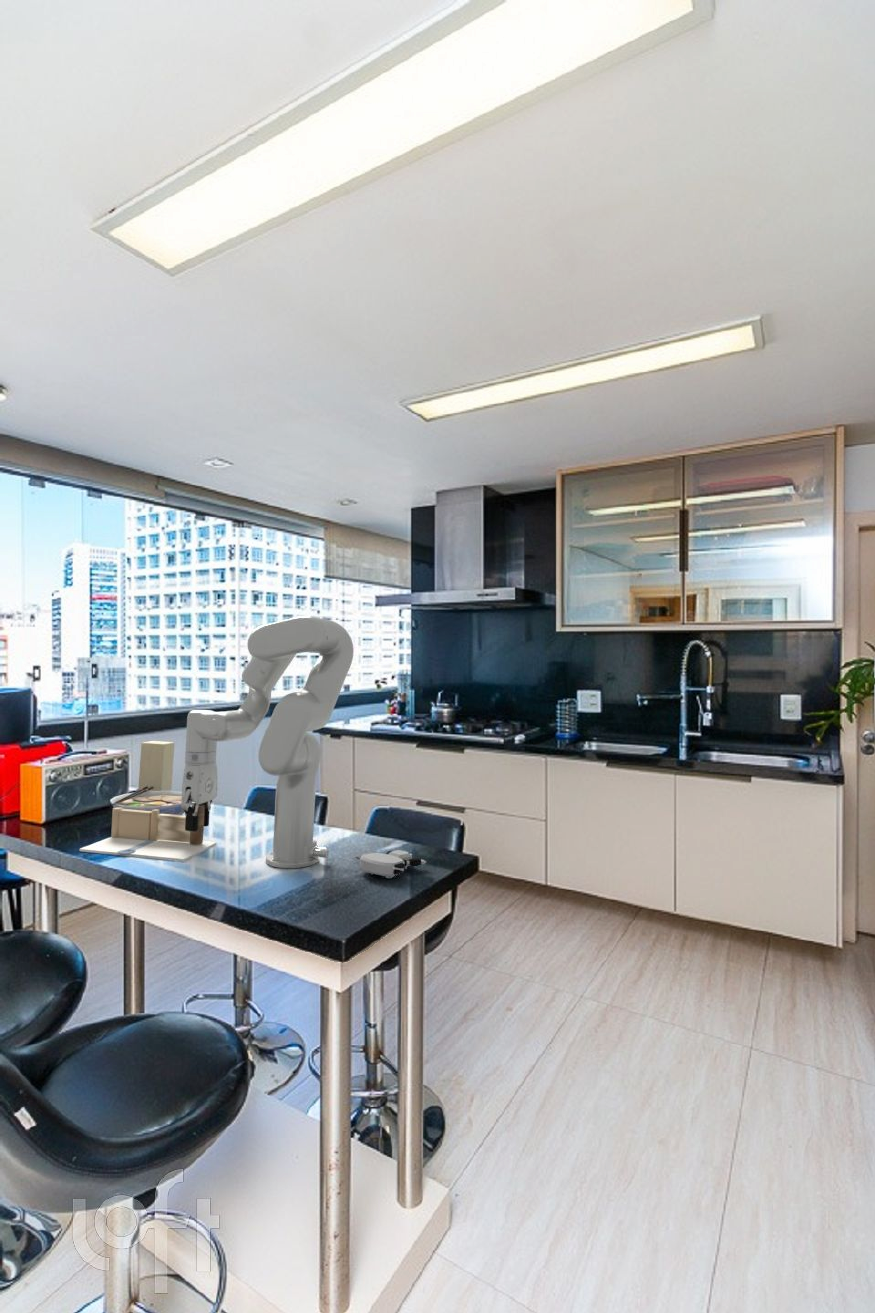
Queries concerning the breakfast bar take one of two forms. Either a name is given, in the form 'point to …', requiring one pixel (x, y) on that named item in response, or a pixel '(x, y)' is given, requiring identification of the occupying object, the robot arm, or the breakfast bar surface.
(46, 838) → the breakfast bar surface
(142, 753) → the beige tall block
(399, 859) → the robot toy
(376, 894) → the breakfast bar surface
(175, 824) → the hinged fence panel
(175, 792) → the ramen bowl
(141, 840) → the layout board with fixed fence
